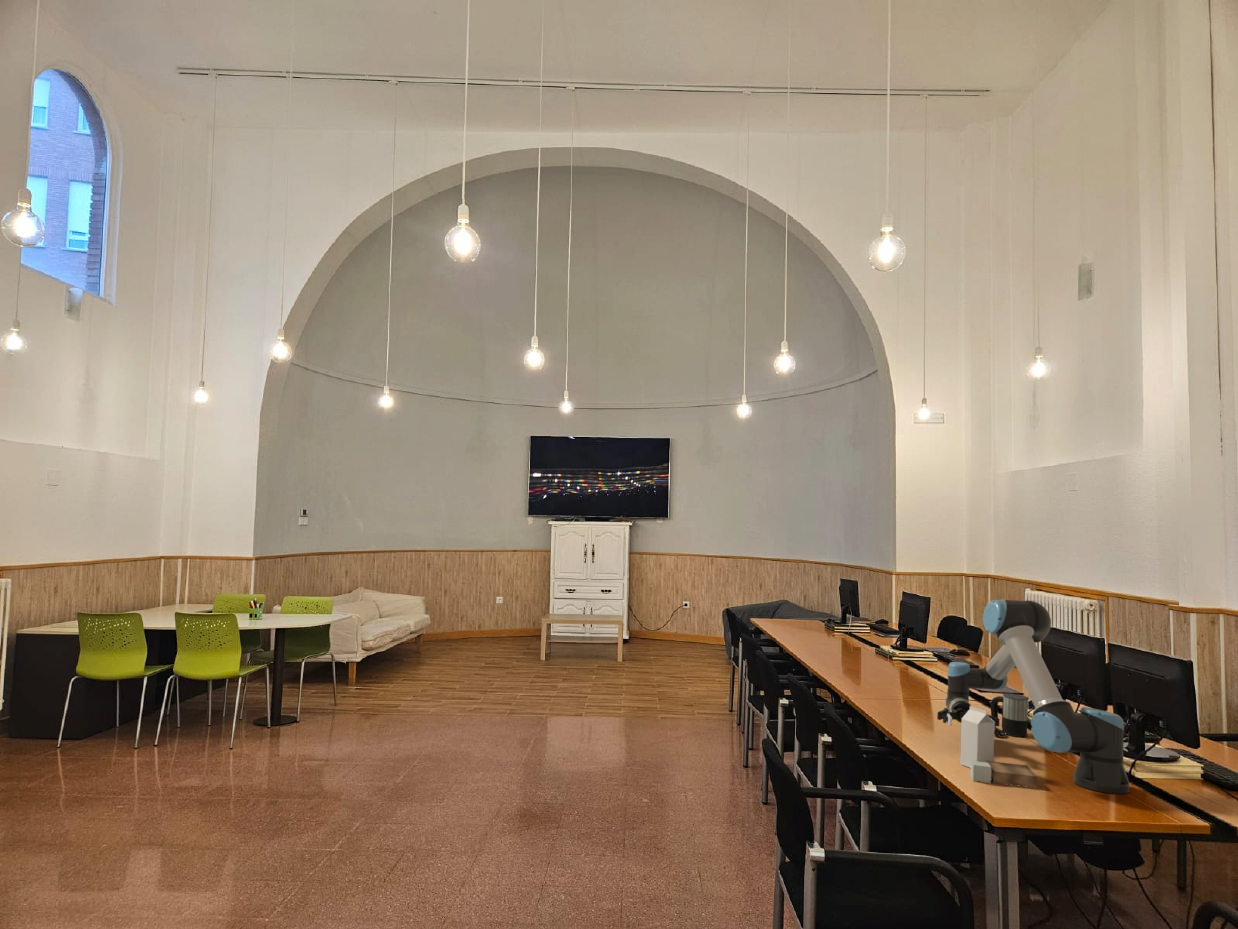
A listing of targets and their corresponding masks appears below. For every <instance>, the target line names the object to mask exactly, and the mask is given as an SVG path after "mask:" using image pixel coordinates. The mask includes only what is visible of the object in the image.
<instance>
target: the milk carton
mask: <svg viewBox="0 0 1238 929" xmlns="http://www.w3.org/2000/svg"><path fill="white" fill-rule="evenodd" d="M987 714H988V712H987V710H985V709H982V708H978V707H975V706H972V705H971V706H970V709H969V711H968V712H967V713H966V714H965V715H964V716H963V717H962V723H961V726H960V727H961V730H960V733H961V734H960V765H962V766H964V767H967V768H969V769H971V761H978V762H987V761H992V762H995V760H994V758H995V757H994V754H995V746H994V745H995V734H994V722H993V721H992V720H991V719H990V717H989V716H988V715H989V714H988V715H987Z"/></svg>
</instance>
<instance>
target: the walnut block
mask: <svg viewBox="0 0 1238 929" xmlns="http://www.w3.org/2000/svg"><path fill="white" fill-rule="evenodd" d="M986 763H988V764H989V765H990V766H991V779H992V780H991V782H994V783H993V784H995V783H998V784H997V785H1004V784H1012V785H1020V786H1019V787H1021V786H1027V787H1026V788H1029V787H1036V788H1037V775H1036V774H1035V772H1033V770H1032V769H1031V768H1030V767H1029V766H1028V765H1026V764H1017V763H1016V764H1015V763H1008V762H1000V761H999V762H998V761H994V762H992V761H987V762H986ZM1012 785H1011V786H1012Z"/></svg>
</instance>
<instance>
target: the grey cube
mask: <svg viewBox="0 0 1238 929" xmlns="http://www.w3.org/2000/svg"><path fill="white" fill-rule="evenodd" d="M969 775H970V779H971V778H972V779H971V780H972V782H975V781H980V782H979V783H983V782H985V784H991V782H992V780H991V766H990V765H989V764H988V763H986V762H978V761H971V768H970V774H969Z"/></svg>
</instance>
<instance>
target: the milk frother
mask: <svg viewBox="0 0 1238 929" xmlns="http://www.w3.org/2000/svg"><path fill="white" fill-rule="evenodd" d="M1029 699H1030V697H1029V696H1026V695H1021V694H1016V693H1003V694H1002V696H1001V695H999V696H995V697H993V698H992V699H991V701H990V715H991V716H994V717H996V718H998V719H999V703H1002V708H1001V709H1002V712H1001V728H1002V729H1000V728H998V727H997V726H996V727H995V731H994V736H996V737H1001V738H1002V737H1003V738H1004V736H1005V737H1006V736H1009V735H1011V736H1010V737H1015V736H1027V735H1028V711H1029V709H1028V708H1029ZM1005 733H1006V734H1008V735H1006V734H1005ZM1027 737H1028V736H1027Z"/></svg>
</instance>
